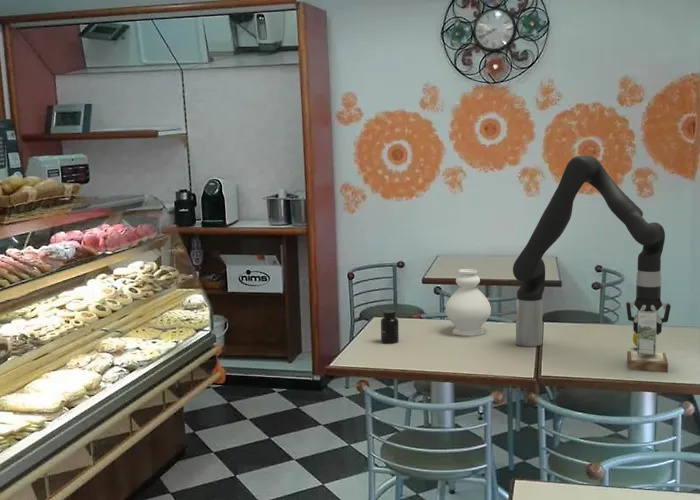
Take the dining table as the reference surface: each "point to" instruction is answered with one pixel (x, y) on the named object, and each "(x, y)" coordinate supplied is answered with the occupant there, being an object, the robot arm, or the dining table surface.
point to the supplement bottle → (389, 327)
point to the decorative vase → (468, 305)
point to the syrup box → (647, 332)
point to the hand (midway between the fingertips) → (647, 333)
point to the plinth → (647, 362)
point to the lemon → (635, 338)
